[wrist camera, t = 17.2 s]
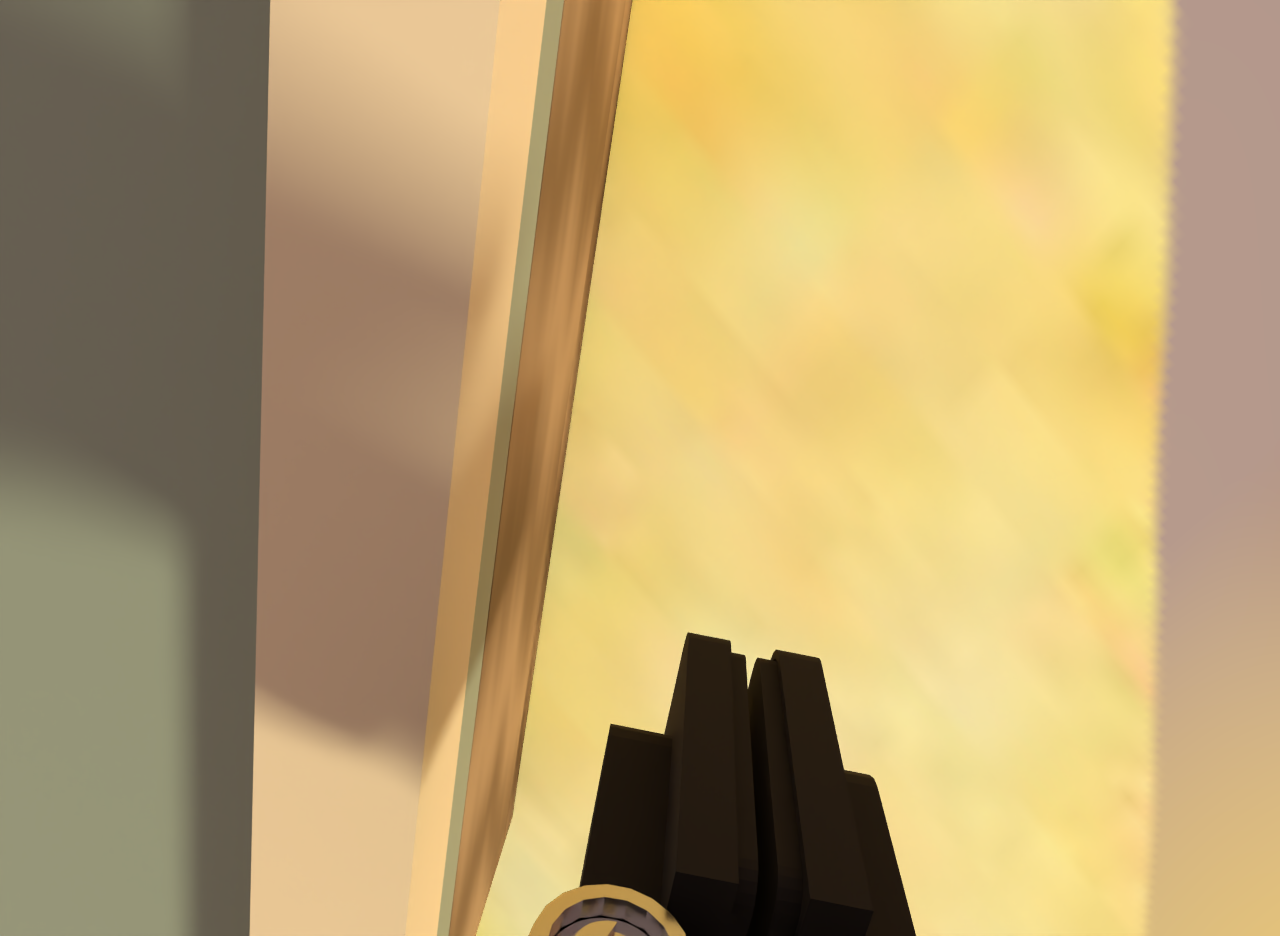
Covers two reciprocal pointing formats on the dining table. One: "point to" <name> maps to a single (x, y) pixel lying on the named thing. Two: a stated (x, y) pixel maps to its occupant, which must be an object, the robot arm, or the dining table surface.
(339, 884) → the lid
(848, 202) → the dining table surface
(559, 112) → the toolbox
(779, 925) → the robot arm
